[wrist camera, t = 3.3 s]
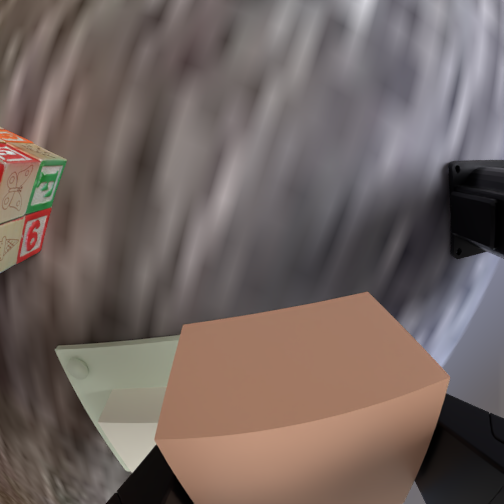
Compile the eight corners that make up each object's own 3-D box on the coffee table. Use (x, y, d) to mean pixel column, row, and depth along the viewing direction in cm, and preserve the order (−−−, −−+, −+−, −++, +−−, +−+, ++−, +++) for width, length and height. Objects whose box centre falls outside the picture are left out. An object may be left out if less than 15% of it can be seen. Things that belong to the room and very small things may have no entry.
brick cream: (208, 382, 19) (205, 419, 16) (229, 446, 21) (230, 480, 17) (112, 388, 19) (97, 422, 15) (146, 450, 21) (139, 482, 17)
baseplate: (253, 324, 19) (254, 332, 18) (278, 458, 22) (279, 467, 21) (58, 345, 18) (52, 352, 17) (127, 466, 22) (125, 474, 21)
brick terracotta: (367, 291, 8) (450, 376, 4) (362, 416, 9) (403, 503, 6) (182, 324, 8) (153, 439, 4) (222, 444, 9) (223, 541, 5)
